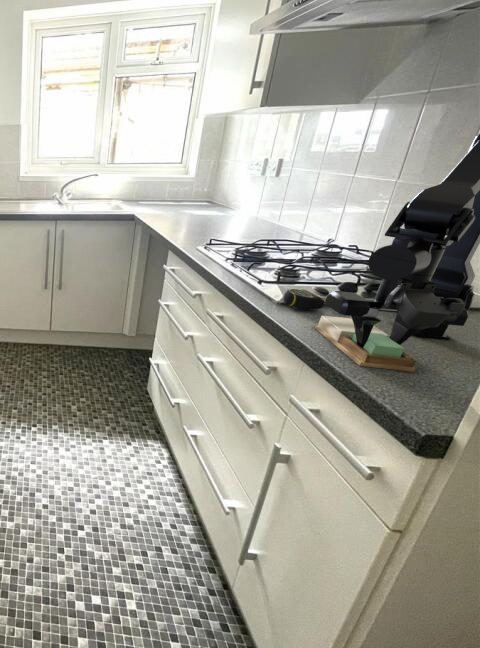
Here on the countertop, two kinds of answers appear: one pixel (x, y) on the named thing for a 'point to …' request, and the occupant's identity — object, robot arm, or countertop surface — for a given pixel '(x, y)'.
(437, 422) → the countertop surface
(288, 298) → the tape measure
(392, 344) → the green rectangular block
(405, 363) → the frame
